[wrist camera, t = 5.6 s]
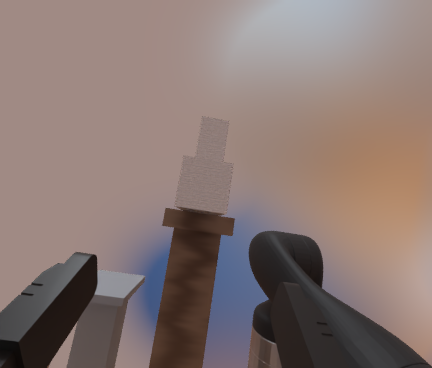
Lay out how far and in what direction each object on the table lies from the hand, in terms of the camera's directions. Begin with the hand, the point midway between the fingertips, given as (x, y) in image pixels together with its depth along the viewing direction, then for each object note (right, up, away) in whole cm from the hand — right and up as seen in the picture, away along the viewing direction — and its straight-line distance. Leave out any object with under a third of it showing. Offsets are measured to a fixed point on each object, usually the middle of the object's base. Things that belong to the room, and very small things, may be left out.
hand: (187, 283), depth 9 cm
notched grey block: (-1, +1, +15) cm, 15 cm away
